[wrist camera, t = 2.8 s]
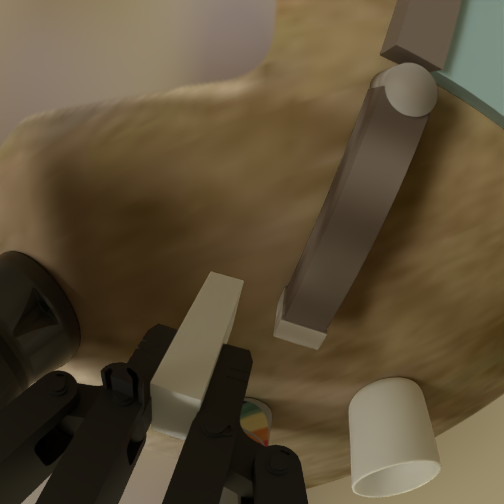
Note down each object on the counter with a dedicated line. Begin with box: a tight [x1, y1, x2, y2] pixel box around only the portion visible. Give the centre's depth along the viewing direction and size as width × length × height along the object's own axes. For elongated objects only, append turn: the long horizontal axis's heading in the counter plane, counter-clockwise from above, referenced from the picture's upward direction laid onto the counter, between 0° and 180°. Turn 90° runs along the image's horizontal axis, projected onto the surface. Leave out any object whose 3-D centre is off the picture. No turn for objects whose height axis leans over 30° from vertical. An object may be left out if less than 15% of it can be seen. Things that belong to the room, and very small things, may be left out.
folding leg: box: [273, 63, 438, 350], centre depth 19 cm, size 19×3×4 cm, turn 162°
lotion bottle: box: [219, 398, 272, 504], centre depth 24 cm, size 6×6×20 cm
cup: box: [348, 377, 441, 497], centre depth 25 cm, size 8×12×10 cm
